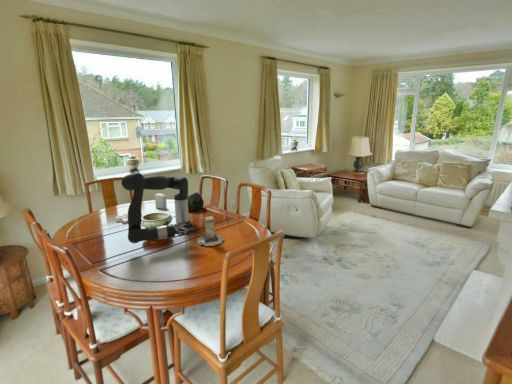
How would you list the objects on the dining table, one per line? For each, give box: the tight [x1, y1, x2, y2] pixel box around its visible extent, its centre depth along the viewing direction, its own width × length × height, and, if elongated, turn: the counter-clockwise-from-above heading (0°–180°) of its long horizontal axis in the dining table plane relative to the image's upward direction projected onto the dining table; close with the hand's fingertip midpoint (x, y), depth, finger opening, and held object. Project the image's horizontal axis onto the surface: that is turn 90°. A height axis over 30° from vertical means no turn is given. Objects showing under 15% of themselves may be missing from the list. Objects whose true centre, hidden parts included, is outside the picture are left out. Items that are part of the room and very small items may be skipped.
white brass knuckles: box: [115, 212, 143, 224], centre depth 218 cm, size 3×18×15 cm
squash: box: [188, 192, 205, 211], centre depth 240 cm, size 14×15×15 cm
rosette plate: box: [196, 232, 224, 247], centre depth 180 cm, size 16×16×3 cm
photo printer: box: [154, 193, 167, 210], centre depth 243 cm, size 10×4×12 cm, turn 60°
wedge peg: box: [204, 215, 216, 239], centre depth 178 cm, size 4×4×14 cm
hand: (193, 227), depth 174 cm, fingers open, 8 cm apart
